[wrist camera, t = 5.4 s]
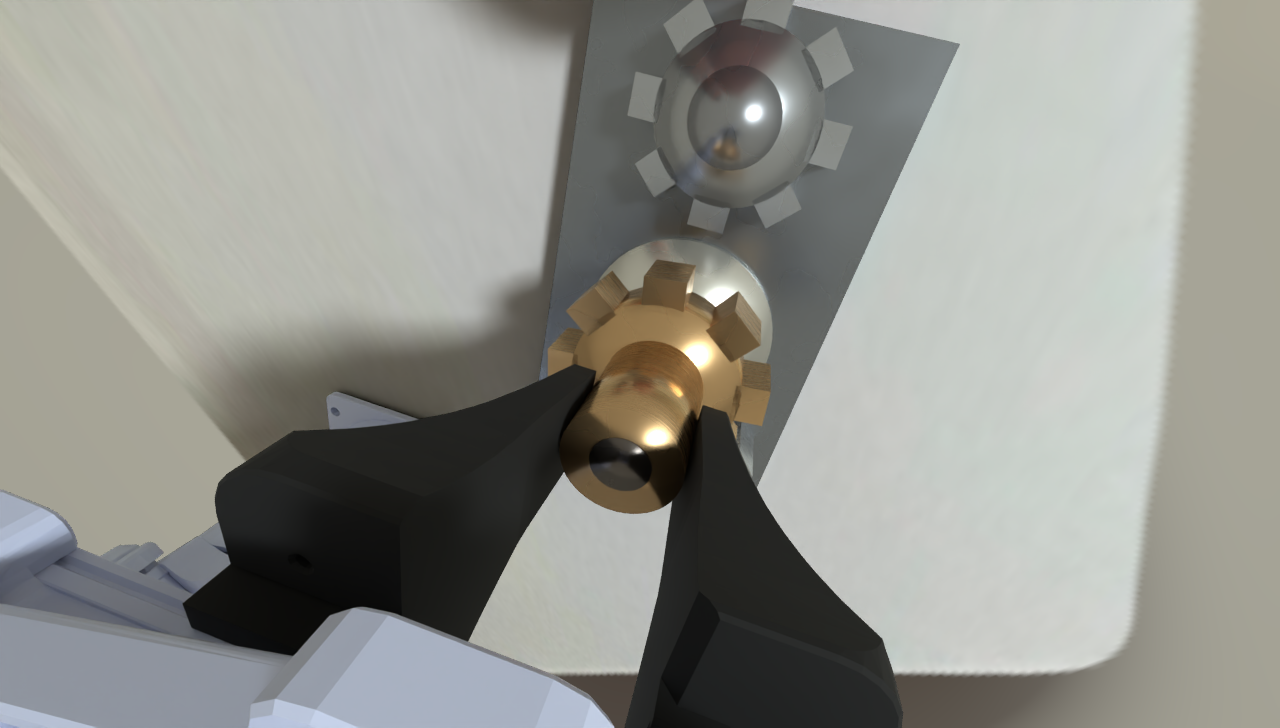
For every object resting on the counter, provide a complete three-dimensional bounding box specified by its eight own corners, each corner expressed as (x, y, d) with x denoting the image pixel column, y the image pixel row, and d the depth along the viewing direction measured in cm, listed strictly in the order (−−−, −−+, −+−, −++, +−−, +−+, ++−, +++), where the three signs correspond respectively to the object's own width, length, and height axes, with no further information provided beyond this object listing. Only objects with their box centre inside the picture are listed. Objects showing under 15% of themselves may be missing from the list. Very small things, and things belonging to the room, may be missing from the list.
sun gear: (798, 245, 16) (804, 264, 13) (623, 196, 16) (601, 207, 14) (883, 25, 13) (908, 4, 11) (667, -24, 13) (648, -54, 11)
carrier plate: (755, 475, 21) (755, 495, 20) (542, 405, 22) (530, 420, 21) (946, 49, 13) (963, 42, 12) (609, -30, 14) (596, -43, 13)
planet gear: (746, 462, 16) (737, 596, 11) (566, 423, 17) (495, 532, 12) (791, 280, 13) (804, 366, 8) (569, 245, 14) (476, 307, 9)
